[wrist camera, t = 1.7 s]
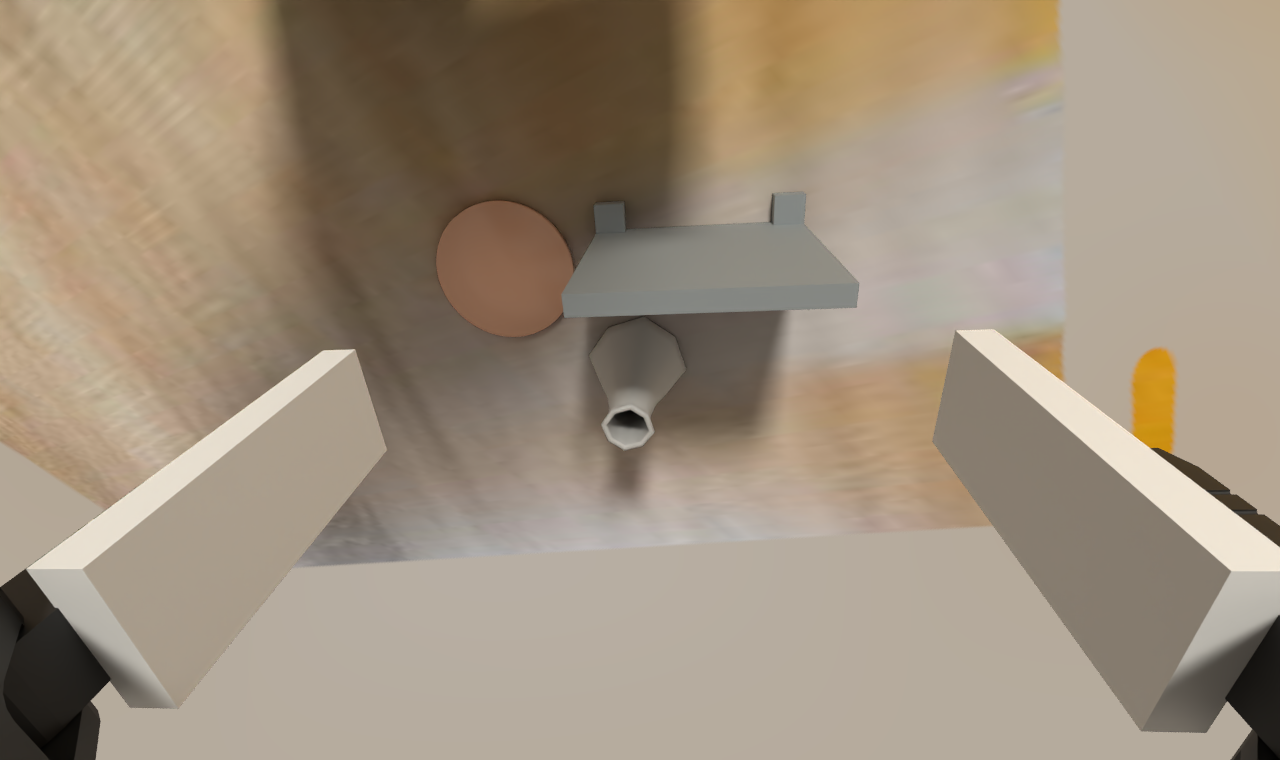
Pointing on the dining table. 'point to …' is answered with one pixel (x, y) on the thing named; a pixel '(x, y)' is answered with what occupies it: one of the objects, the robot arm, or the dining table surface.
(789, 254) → the screen
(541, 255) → the coaster
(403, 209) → the dining table surface
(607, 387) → the flask
